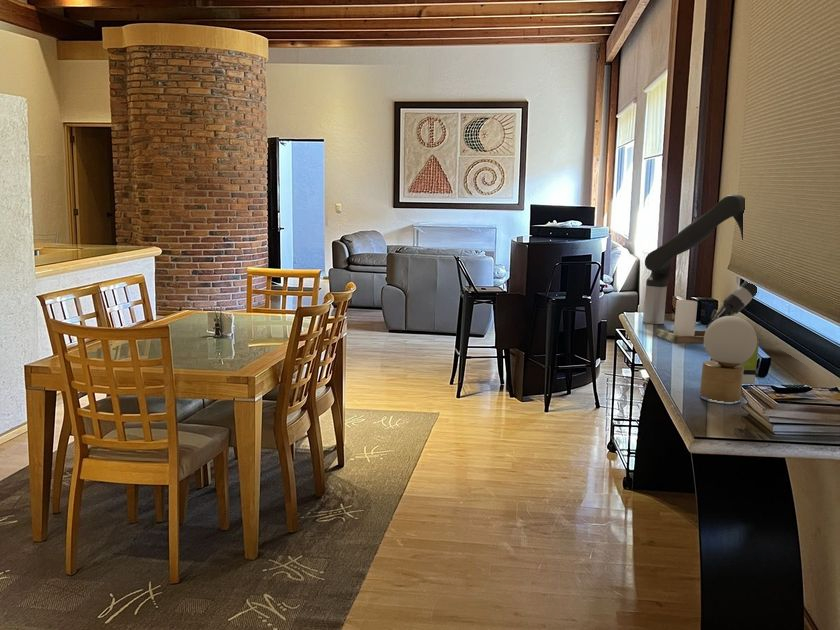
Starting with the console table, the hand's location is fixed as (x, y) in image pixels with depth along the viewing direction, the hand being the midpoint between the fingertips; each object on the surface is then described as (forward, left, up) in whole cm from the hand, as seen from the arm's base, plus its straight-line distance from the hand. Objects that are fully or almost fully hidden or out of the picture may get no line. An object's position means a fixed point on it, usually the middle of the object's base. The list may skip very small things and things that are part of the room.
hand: (708, 328), depth 329 cm
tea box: (+69, -32, -5) cm, 76 cm away
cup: (0, -11, -5) cm, 12 cm away
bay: (0, -7, -4) cm, 8 cm away
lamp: (+94, -50, -5) cm, 107 cm away
